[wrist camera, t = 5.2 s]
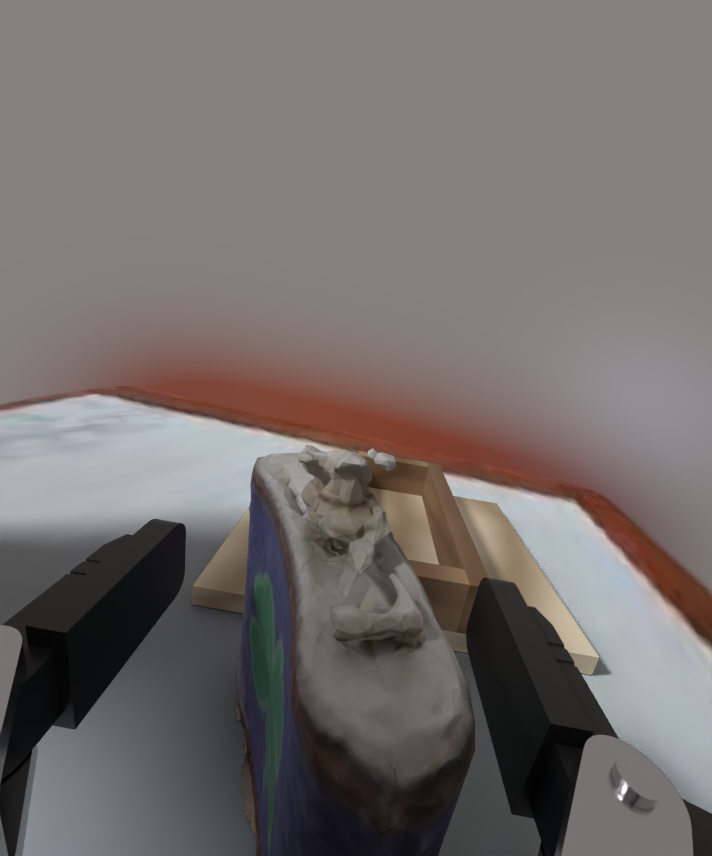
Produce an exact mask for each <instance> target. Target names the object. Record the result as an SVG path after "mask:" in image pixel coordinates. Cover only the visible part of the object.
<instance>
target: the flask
mask: <svg viewBox="0 0 712 856" xmlns="http://www.w3.org/2000/svg"><path fill="white" fill-rule="evenodd" d="M368 457H369V458H370V459H371V460H374V462H375V464H377V465H379V466H380V467H382V468H384V469H385V470H387V471H391V470H394V468H395V466H396V461H395V458H394V456H392V455H389V454H385V453H382V452H381V453H377V452H376V451H375V450H374V449H373V448H372V449H371V450H369V451H368ZM371 480H372V469H371V465H370V464H369V462H368V461H366V460H365V459H364V458H363V457H361V456H360V455H359V454H357V453H356V452H349V451H348V450H335V451H330V452H323V451H320V450H319V449H317V448H315V447H314V446H309V445H306V446H305V447H304V448H303V450H302V451H301V453H283V454H270V455H268V456H266V457H260V458H258V459H257V461H256V463H255V465H254V468H253V472H252V478H251V503H250V507H249V513H250V522H249V538H248V555H247V575H246V586H245V601H244V612H243V621H242V634H241V646H240V664H239V668H238V672H237V677H236V680H237V690H238V705H237V709H236V712H237V714H238V715H237V719H238V721H239V720H240V719H241V720H242V725H243V728H244V740H245V741H244V746H245V747H246V749H245V753H244V757H245V759H244V761H245V763H244V764H243V765H242V777H243V785H242V788H241V789H240V792H241V794H242V796H243V799H244V805H243V812H244V813H245V815H246V816H247V820H246V821H250V820H251V822H250V829H252V830H253V833H254V836H255V837H256V845H257V847H256V856H438V854H439V851H440V848H441V845H442V842H443V839H444V836H445V833H446V831H447V828H448V825H449V822H450V819H451V817H452V814H453V811H454V808H455V805H456V803H457V800H458V797H459V794H460V791H461V788H462V785H463V782H464V779H465V777H466V774H467V771H468V768H469V766H470V763H471V760H472V757H473V754H474V751H475V721H474V715H473V709H472V704H471V698H470V692H469V686H468V682H467V680H466V677H465V675H464V673H463V671H462V669H461V666H460V664H459V662H458V660H457V657H456V655H455V653H454V651H453V649H452V647H451V645H450V644H449V642H448V640H447V638H446V637H445V635H444V633H443V631H442V628H441V626H440V623H439V621H438V619H437V616H436V614H435V611H434V609H433V606H432V604H431V602H430V600H429V598H428V596H427V594H426V592H425V590H424V588H423V586H422V584H421V582H420V580H419V578H418V576H417V574H416V572H415V571H414V569H413V567H412V566H411V564H410V563H409V561H408V560H407V558H406V556H405V555H404V553H403V551H402V549H401V548H400V546H399V544H398V543H397V542H395V540H394V537H393V534H392V532H391V531H390V526H389V523H388V521H387V519H386V511H385V510H384V509H383V507H382V506H380V505H379V504H378V501H377V499H376V497H375V496H374V494H373V493H372V492H371V490H370V489H369V488H368V487H367V485H368V483H369V482H370V481H371ZM246 821H245V822H246Z"/></svg>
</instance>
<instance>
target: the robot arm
mask: <svg viewBox="0 0 712 856" xmlns="http://www.w3.org/2000/svg"><path fill="white" fill-rule="evenodd" d="M185 542H186V529H185V526H184V524H182V523H176V522H170V521H165V520H159V519H152V520H151V521H149V522H148V523H147V524H145V525H144V526H143V527H142V528H141V529H140V530H138V531H137V532H136V533H135V534H134V535H125V536H122V537H120V538H118V539H116V540H114V541H111V542H109V543H107V544H105V545H103V546H102V547H101V548H100V549H98V550H97V551H96V552H94V553H93V554H92V555H91V556H89V557H88V558H87V559H86V561H85V562H82V563H80V564H79V565H78V566H77V567H75V568H74V569H73V570H72V571H71V573H70V574H66V575H65V576H64V577H63V578H61V579H60V580H59V581H58V582H56V583H55V584H54V585H53V586H51V587H50V588H49V589H47V590H46V591H45V592H44V593H42V594H41V595H40V596H39V597H37V598H36V599H35V600H33V601H32V602H31V603H30V604H28V605H27V606H26V607H25V608H23V609H22V610H21V611H19V612H18V613H17V614H16V615H14V616H13V617H12V618H11V619H9V620H8V621H7V622H6V623H4V624H3V625H0V856H22V854H23V847H24V840H25V833H26V827H27V820H28V813H29V807H30V800H31V793H32V786H33V780H34V773H35V766H36V760H37V751H38V747H37V743H38V742H39V741H40V740H41V738H42V737H43V736H44V735H45V733H46V732H47V731H48V730H49V729H50V727H51V726H52V725H54V726H59V727H65V728H70V729H76V728H77V726H78V725H79V724H80V722H81V721H82V720H83V718H84V717H85V716H86V714H87V713H88V712H89V711H90V709H91V708H92V707H93V705H94V704H95V703H96V701H97V700H98V699H99V697H100V696H101V695H102V693H103V692H104V691H105V689H106V688H107V687H108V685H109V684H110V683H111V682H112V680H113V679H114V678H115V676H116V675H117V674H118V672H119V671H120V670H121V668H122V667H123V666H124V664H125V663H126V662H127V660H128V659H129V658H130V656H131V655H132V654H133V653H134V651H135V650H136V649H137V647H138V646H139V645H140V643H141V642H142V641H143V639H144V638H145V637H146V635H147V634H148V633H149V631H150V630H151V629H152V628H153V626H154V625H155V624H156V622H157V621H158V620H159V618H160V617H161V616H162V614H163V613H164V612H165V610H166V609H167V608H168V606H169V605H170V604H171V602H172V601H173V600H174V599H175V597H176V596H177V594H178V592H179V590H180V588H181V585H182V583H183V579H184V574H185ZM466 644H467V650H468V654H469V658H470V662H471V665H472V669H473V673H474V676H475V680H476V684H477V687H478V691H479V695H480V699H481V702H482V706H483V710H484V713H485V717H486V721H487V724H488V728H489V732H490V736H491V739H492V743H493V747H494V750H495V754H496V758H497V761H498V765H499V769H500V772H501V776H502V780H503V784H504V787H505V791H506V795H507V798H508V802H509V806H510V809H511V813H512V814H513V815H519V816H524V817H529V818H534V819H535V822H536V826H537V829H538V832H539V835H540V839H539V841H538V844H537V846H536V849H535V853H534V856H712V814H711V813H709V812H707V811H705V810H703V809H701V808H699V807H697V806H695V805H693V804H691V803H689V802H687V801H685V800H684V799H682V798H681V796H680V795H679V793H678V791H677V790H676V788H675V787H674V786H673V784H672V783H671V782H670V780H669V779H668V778H667V777H666V776H665V774H664V773H663V772H662V771H661V770H660V769H659V768H658V767H657V766H656V765H655V764H654V763H653V762H652V761H651V760H650V759H649V758H647V757H646V756H645V755H644V754H642V753H641V752H640V751H638V750H637V749H636V748H634V747H633V746H631V745H629V744H628V743H626V742H624V741H622V740H620V739H619V738H618V737H617V735H616V733H615V731H614V730H613V728H612V726H611V725H610V723H609V721H608V719H607V718H606V716H605V714H604V712H603V711H602V709H601V707H600V706H599V704H598V702H597V700H596V699H595V697H594V695H593V694H592V692H591V690H590V688H589V687H588V685H587V683H586V681H585V680H584V678H583V676H582V675H581V673H580V671H579V669H578V668H577V667H575V665H574V661H573V659H572V657H571V656H570V654H569V652H568V650H567V649H565V648H564V644H563V642H562V640H561V638H560V637H559V635H558V633H557V632H556V630H555V628H554V626H553V625H552V624H551V623H550V622H549V621H548V620H547V619H546V618H545V617H544V616H543V615H542V614H541V613H540V612H539V611H538V610H537V609H536V608H535V607H531V606H527V604H526V602H525V600H524V598H523V596H522V595H521V593H520V591H519V589H518V587H517V585H516V584H515V583H513V582H509V581H503V580H497V579H491V578H486V577H484V578H482V580H481V581H480V584H479V587H478V590H477V593H476V597H475V600H474V603H473V607H472V610H471V613H470V617H469V620H468V623H467V630H466Z"/></svg>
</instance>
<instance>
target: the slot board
mask: <svg viewBox="0 0 712 856" xmlns="http://www.w3.org/2000/svg"><path fill="white" fill-rule="evenodd" d="M346 450H348V451H349V452H356V453H357V454H359V455H360V456H361V457H363V458H364V459H365V460H366V461H368V462H369V464H370V465H371V469H372V480H371V481H370V482H369V483H368V485H367V487H368V488H369V489H370V490H371V492H372V493H373V494H374V496H375V497H376V499H377V501H378V504H379V505H380V506H382V507H383V509H384V510H385V511H386V519H387V521H388V523H389V526H390V531H391V532H392V534H393V537H394V540H395V542H397V543H398V544H399V546H400V548H401V549H402V551H403V553H404V555H405V556H406V558H407V560H408V561H409V563H410V564H411V566H412V567H413V569H414V571H415V572H416V574H417V576H418V578H419V580H420V582H421V584H422V586H423V588H424V590H425V592H426V594H427V596H428V598H429V600H430V602H431V604H432V606H433V609H434V611H435V614H436V616H437V619H438V621H439V623H440V626H441V628H442V631H443V633H444V635H445V637H446V638H447V640H448V642H449V644H450V645H451V647H452V649H453V651H458V652H464V653H468V650H467V644H466V630H467V623H468V620H469V617H470V613H471V610H472V607H473V603H474V600H475V597H476V593H477V590H478V587H479V584H480V581H481V580H482V578H484V577H486V578H491V579H497V580H503V581H509V582H513V583H515V584H516V585H517V587H518V589H519V591H520V593H521V595H522V596H523V598H524V600H525V602H526V604H527V606H531V607H535V608H536V609H537V610H538V611H539V612H540V613H541V614H542V615H543V616H544V617H545V618H546V619H547V620H548V621H549V622H550V623H551V624H552V625H553V626H554V628H555V630H556V632H557V633H558V635H559V637H560V638H561V640H562V642H563V644H564V648H565V649H567V650H568V652H569V654H570V656H571V657H572V659H573V661H574V665H575V667H577V668H578V669H579V671H580V673H582V674H588V675H592V673H593V671H594V669H595V667H596V664H597V662H598V660H599V656H598V655H597V653H596V652H595V650H594V649H593V647H592V646H591V644H590V643H589V641H588V640H587V638H586V637H585V635H584V634H583V632H582V631H581V629H580V628H579V626H578V625H577V623H576V622H575V620H574V619H573V617H572V616H571V614H570V613H569V611H568V610H567V608H566V607H565V605H564V604H563V602H562V601H561V599H560V598H559V596H558V595H557V593H556V592H555V590H554V589H553V587H552V586H551V584H550V583H549V581H548V580H547V578H546V577H545V575H544V574H543V572H542V571H541V569H540V568H539V566H538V565H537V563H536V562H535V560H534V559H533V557H532V556H531V554H530V553H529V551H528V550H527V548H526V547H525V545H524V544H523V542H522V541H521V539H520V538H519V536H518V535H517V533H516V532H515V530H514V529H513V527H512V526H511V524H510V523H509V521H508V520H507V518H506V517H505V515H504V514H503V512H502V511H501V509H500V508H499V506H498V505H497V503H491V502H485V501H479V500H473V499H467V498H461V497H455V496H453V495H452V493H451V490H450V488H449V486H448V483H447V481H446V479H445V477H444V474H443V472H442V470H441V467H440V465H439V464H434V463H428V462H422V461H416V460H410V459H404V458H398V457H394V458H395V461H396V466H395V468H394V470H391V471H387V470H385V469H384V468H382V467H380V466H379V465H377V464H375V462H374V460H371V459H370V458H369V457H368V452H362V451H356V450H350V449H346ZM249 522H250V513H249V508H248V510H247V511H246V512H245V514H244V515H243V516H242V518H241V519H240V521H239V522H238V523H237V525H236V526H235V527H234V529H233V530H232V532H231V533H230V534H229V536H228V537H227V539H226V540H225V541H224V543H223V544H222V545H221V547H220V548H219V550H218V551H217V552H216V554H215V555H214V556H213V558H212V559H211V561H210V562H209V563H208V565H207V566H206V567H205V569H204V570H203V572H202V573H201V574H200V576H199V577H198V579H197V580H196V581H195V583H194V584H193V585H192V604H193V605H199V606H204V607H210V608H215V609H221V610H227V611H232V612H238V613H243V612H244V601H245V586H246V575H247V555H248V538H249Z"/></svg>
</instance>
